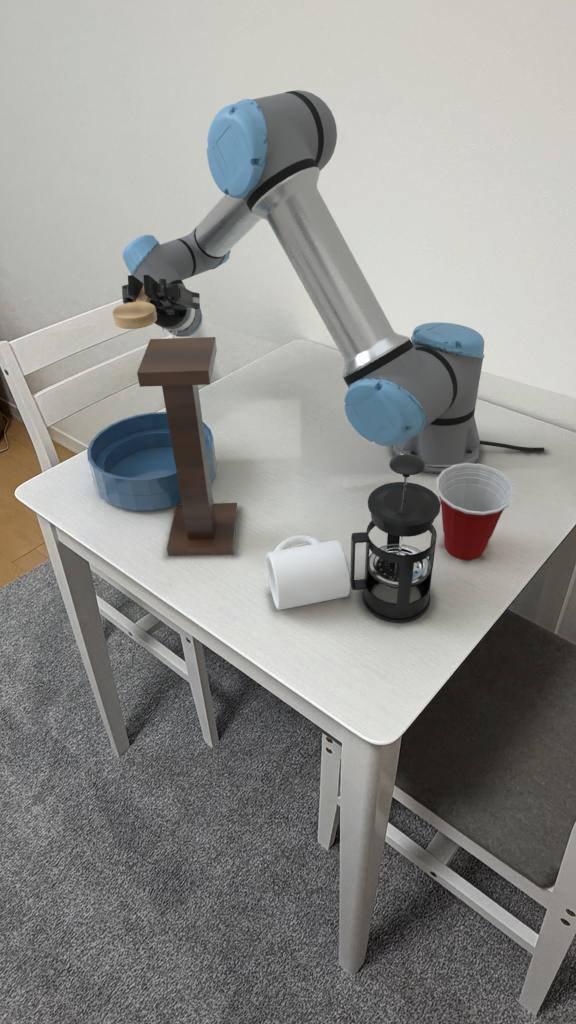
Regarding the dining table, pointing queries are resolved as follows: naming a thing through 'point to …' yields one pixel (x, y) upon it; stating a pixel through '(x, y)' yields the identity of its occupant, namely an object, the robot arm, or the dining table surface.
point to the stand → (189, 444)
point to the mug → (307, 572)
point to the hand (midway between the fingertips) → (138, 284)
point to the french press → (398, 544)
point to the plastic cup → (471, 506)
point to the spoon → (135, 313)
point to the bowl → (139, 463)
